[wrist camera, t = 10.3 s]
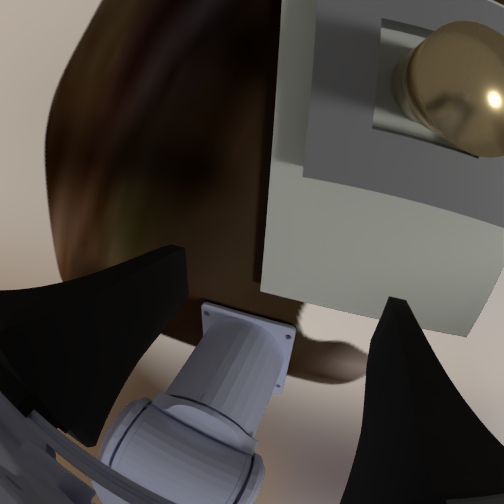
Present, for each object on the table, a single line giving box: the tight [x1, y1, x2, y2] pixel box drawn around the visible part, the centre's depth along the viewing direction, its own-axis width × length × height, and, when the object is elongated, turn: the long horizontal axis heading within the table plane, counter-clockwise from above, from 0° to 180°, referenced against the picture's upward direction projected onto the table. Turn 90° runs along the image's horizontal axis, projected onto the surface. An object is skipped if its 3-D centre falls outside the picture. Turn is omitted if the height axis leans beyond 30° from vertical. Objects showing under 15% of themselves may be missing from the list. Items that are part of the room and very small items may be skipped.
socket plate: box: [260, 0, 504, 337], centre depth 13 cm, size 22×16×3 cm
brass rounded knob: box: [391, 21, 504, 158], centre depth 9 cm, size 4×4×8 cm
